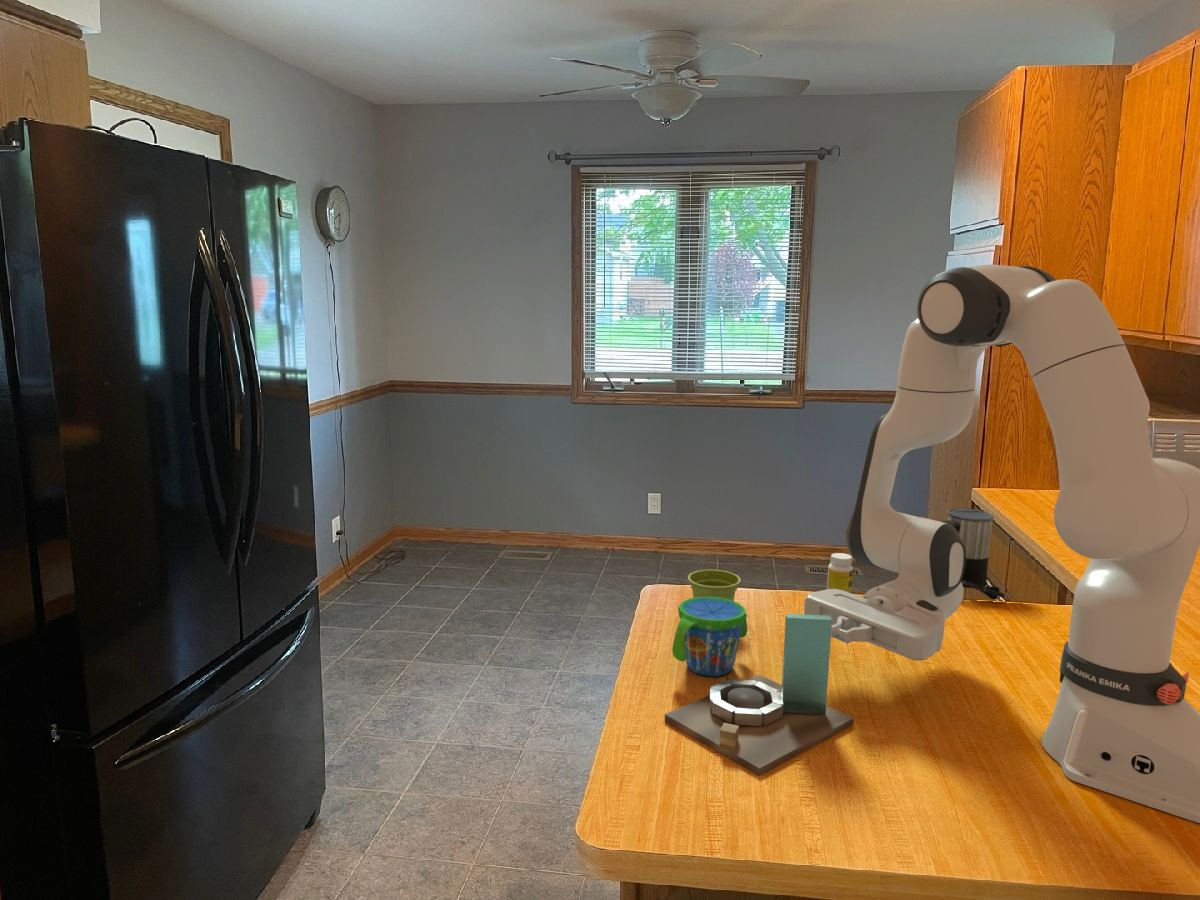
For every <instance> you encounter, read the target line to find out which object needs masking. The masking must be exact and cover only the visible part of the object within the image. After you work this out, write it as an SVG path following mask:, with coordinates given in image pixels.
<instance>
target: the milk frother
mask: <svg viewBox="0 0 1200 900" xmlns="http://www.w3.org/2000/svg"><path fill="white" fill-rule="evenodd" d="M946 513H947V514H948V517H947V519H946V520H941V521H940V522H943V523H946V524H950V525H952V526H953V527H954V528H955V529H956V530H957V532H958V533H959V535H960V537H961V539H962V541H963V544H964V547H965V550H966V564H965V570H964V574H963V578H962V580H961V582H962V585H963V588H967V589H974V590H977V591H979V592H980V593H983V594H984V595H985V596H986V597H988V598H989V599H991V600H995V601H996V600H997V599H998V598H1005V593H1003V591H1002V590H1000V587H999V586H995V585H991V586H989V585H988V567H989V565H988V564H989V556H990V548H991V541H992V529H993V520H994V519H995V518H996V517H995V515H993V514H992V513H990V512H987V511H984V510H978V509H972V508H951V509H948V510H947V511H946Z"/></svg>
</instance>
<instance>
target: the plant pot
mask: <svg viewBox="0 0 1200 900" xmlns="http://www.w3.org/2000/svg"><path fill="white" fill-rule="evenodd" d="M687 580H688V582H689V583H690V589H691V590H692V598H695V597H718V598H724V599H728V600H732V601H735V595H736V591H737V589H738V585H739V584H741V577H740V576H739V575H738V574H735V573H733V572H731V571H726V570H719V569H701V570H696V571H692V572H691V573H689V574H688V575H687Z"/></svg>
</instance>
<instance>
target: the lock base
mask: <svg viewBox="0 0 1200 900" xmlns="http://www.w3.org/2000/svg"><path fill="white" fill-rule="evenodd" d="M745 680H754V681H756V683H757V682H762V683H764V684H766V685H768V686H770V687H772V688H774V689H776V690H779V692H782V683H781V684H780V683H779V682H776V681H774V680H772V679H769V678H767V677H765V676H763V675H761V674H756V675H754V676H752V677H751V676H750V677H749V678H747V679H745ZM722 701H724V702H726V703H728V704H730V705H732V706H734V707H736V708H747V709H760V708H763V707H765V706H767V705H769V704H770V703H768V702H766V701H764V696H763V695H762V694H761V693H760V692H759V691H757V690H754V689H750V688H736V689H733V690H731V691H730V692H729V693H728V697H726V698H724V699H722ZM664 722H666V723H668V724H670V725H671V726H673V727H675V728H676V729H678V730H680V731H682V732H683V733H685V734H687V735H688V736H690V737H692V738H694V739H695V740H696V741H699V742H701V743H702V744H704V745H706V746H708V747H709V748H711V749H713V750H714V751H716V752H718V753H720V754H721V755H723V756H725V757H727V758H729V759H730V760H732V761H733V762H735V763H737V764H739V765H740V766H742V767H743V768H745V769H747V770H749V771H750V772H752V773H754V774H756V775H757V776H762V775H763V774H766V772H769V771H770V770H772V769H775V768H776V767H778V766H780V765H782V764H783V763H785V762H787V761H788V760H791V759H792V758H794V757H795V756H798V755H800V754H802V753H804V752H805V751H807V750H809V749H811V748H813V747H815V746H816V745H819V744H820V743H822V742H824V741H825V740H827V739H830V738H831V737H833V736H835V735H836V734H839V733H840V732H842V731H845V730H846V729H848V728H850V727H851V726H853V725H854V717H852V716H850V715H848V714H846V713H843V712H842V711H839V710H837V709H835V708H832V707H830V706H828V705H826V715H825V714H808V713H791V712H783V716H782V717H781V718H779V719H777V720H775V721H773V722H771V723H769V724H767V725H763V724H762V725H761V726H753V725H737V724H735V723H734V722H733V723H729V722H727V721H726V720H724V719H722V718H720V717H718V716H716V715H714V714H713V713H712V711H710V694H709V695H706V696H703V697H702V698H700V699H698V700H695V701H692V702H691V703H688V704H685V705H683V706H681V707H678V708H676V709H674V710H671V711H669V712H666V713H664Z"/></svg>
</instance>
